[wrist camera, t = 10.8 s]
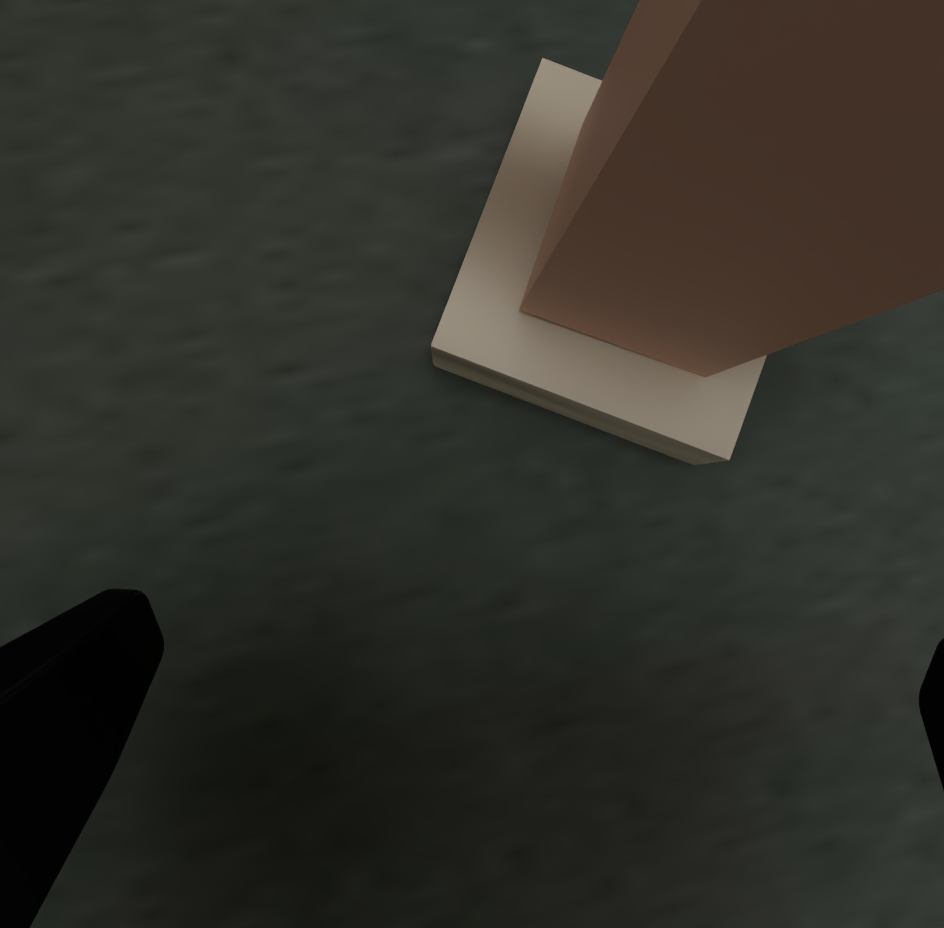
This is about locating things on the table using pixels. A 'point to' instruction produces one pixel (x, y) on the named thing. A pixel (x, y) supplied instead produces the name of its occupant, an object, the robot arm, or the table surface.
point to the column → (751, 179)
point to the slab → (558, 347)
